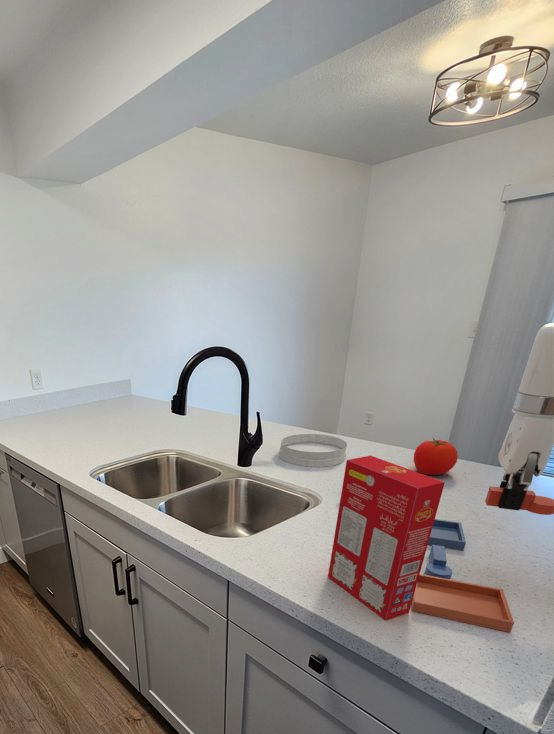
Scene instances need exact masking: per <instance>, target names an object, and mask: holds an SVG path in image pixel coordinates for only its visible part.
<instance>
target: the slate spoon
mask: <svg viewBox="0 0 554 734" xmlns="http://www.w3.org/2000/svg"><path fill="white" fill-rule="evenodd" d="M428 559H429V561H428V562H429V563H428V564H426V566H425V570H424V572H423V574H424V575H429V576H434V577H440V578H445V579H450V580H452V579H451V578H452V575H453V570H452V568H451V567H450V566H447V563H448V562H447V561H448V560H447V553H446V548H445V547H444V546H438V545H431V548H430V552H429V555H428Z"/></svg>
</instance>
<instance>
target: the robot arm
mask: <svg viewBox="0 0 554 734" xmlns="http://www.w3.org/2000/svg"><path fill="white" fill-rule="evenodd" d="M513 402H514V403H513V405H512V409H511V412H512V413H513V414H514V415H513V417H512V420H511V422H510V424H509V427H508V429H507V432H506V435H505V438H504V439H503V443H502V445H501V447H500V450H499V453H498V456H497V459H498V462H499V464H500V466H501V468H502V470H503V471H504V473H503V476H502V480H501V482H500V484H499V487H500V488H504V489H503V492H502V495H501V498H500V500H499V503H498V507H497V508H499V509H503V510H509V511H510V510H511V511H521V510H520V509H521V506H522V503H523V501H524V498H525V495H526V493H527V490H528V491H529V487H530V486H531V484H532V482H533V479H534V477H539V476H541V475H543V473H544V471H545V470H546V466H547V464H548V462H549V460H550V457H551V454H552V451H553V448H554V322H549V323H547V324H546V323H545V324H544V325H543V326H541V327H540V328H539V330H538V331H537V333H536V335H535V337H534V341H533V344H532V347H531V350H530V353H529V356H528V359H527V363H526V365H525V369H524V371H523V375H522V378H521V381H520V384H519V387H518V391H517V393H516V395H515V399H514V401H513Z"/></svg>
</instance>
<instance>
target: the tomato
mask: <svg viewBox="0 0 554 734" xmlns="http://www.w3.org/2000/svg"><path fill="white" fill-rule="evenodd" d="M458 455H459V454H458V450H457V448H456V447H455V445H453V444H452V443H450V442H449V441H447V440H446V441H445V440H442V439H435V438H434V437H432V440H425V441H423V442H422V443H420V444H419V445H418V446H416V448H415V451H414V453H413V464H414V467H415V469H416V470H417V472H418V473H420V474H423V475H429V476H436V475H437V476H438V475H443V474H446V473H448V472H450V471H451V470H452V469H453V468H454V467H455V465H457V462H458V459H459V456H458Z"/></svg>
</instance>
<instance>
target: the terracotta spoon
mask: <svg viewBox="0 0 554 734" xmlns="http://www.w3.org/2000/svg"><path fill="white" fill-rule="evenodd" d="M503 489H504V488H500V486H489V488H488V491H487V494H486V497H485V500H484V502H485V504H486V506H490V507H495V508H499V507H498V503H499V500H500V498H501V495H502V492H503ZM521 510H522V511H528V512H530V513H533V514H537V515H543V516H545V515H546V516H551V515H552V516H553V515H554V499H553V498H550V497H548V496H542V495H536V493H535V492H534V490H529V489H528V490H527V493H526V495H525V498H524V501H523V503H522V506H521V509H520V510H519V511H521Z"/></svg>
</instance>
